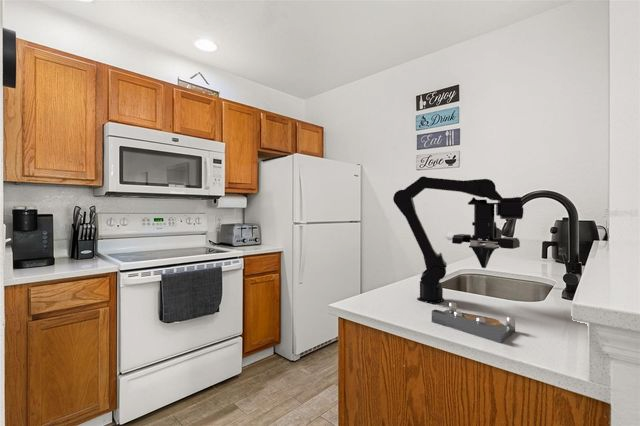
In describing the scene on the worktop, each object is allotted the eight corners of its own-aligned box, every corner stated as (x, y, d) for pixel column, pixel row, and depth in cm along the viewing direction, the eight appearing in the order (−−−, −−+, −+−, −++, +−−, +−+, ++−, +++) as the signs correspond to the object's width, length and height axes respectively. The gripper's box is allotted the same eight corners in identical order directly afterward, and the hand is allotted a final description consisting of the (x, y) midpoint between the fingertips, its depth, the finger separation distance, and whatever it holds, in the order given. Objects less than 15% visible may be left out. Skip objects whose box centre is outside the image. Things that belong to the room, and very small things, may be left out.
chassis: (431, 321, 90) (431, 309, 89) (450, 313, 96) (450, 301, 96) (500, 343, 76) (500, 328, 75) (517, 331, 82) (517, 318, 82)
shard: (459, 317, 94) (459, 310, 94) (485, 316, 95) (485, 310, 95) (479, 331, 84) (479, 324, 84) (508, 331, 84) (508, 324, 84)
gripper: (526, 218, 100) (526, 268, 101) (467, 217, 115) (467, 260, 115) (512, 220, 93) (512, 274, 94) (451, 218, 107) (451, 265, 108)
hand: (483, 267), depth 103 cm, fingers closed
